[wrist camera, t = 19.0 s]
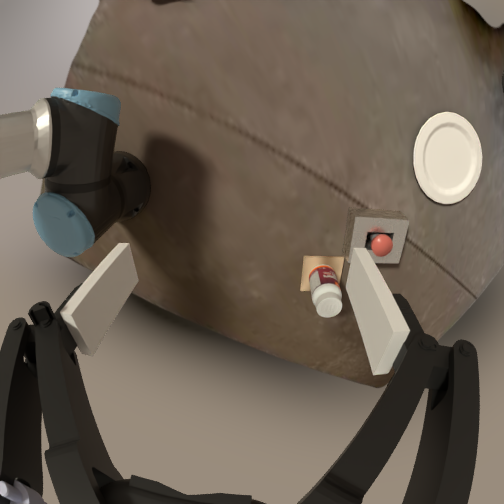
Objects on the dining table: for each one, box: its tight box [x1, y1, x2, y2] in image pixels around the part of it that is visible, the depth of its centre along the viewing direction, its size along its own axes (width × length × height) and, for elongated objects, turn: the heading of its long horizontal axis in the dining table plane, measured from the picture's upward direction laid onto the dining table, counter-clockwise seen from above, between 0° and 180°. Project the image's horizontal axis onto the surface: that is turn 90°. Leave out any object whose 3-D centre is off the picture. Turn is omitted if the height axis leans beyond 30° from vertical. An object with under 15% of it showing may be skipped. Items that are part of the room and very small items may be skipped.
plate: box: [413, 112, 482, 204], centre depth 45 cm, size 21×21×2 cm
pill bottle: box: [309, 264, 342, 317], centre depth 56 cm, size 6×6×11 cm
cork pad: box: [300, 256, 344, 291], centre depth 61 cm, size 9×9×1 cm
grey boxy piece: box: [343, 207, 409, 263], centre depth 53 cm, size 12×10×5 cm
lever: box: [368, 232, 393, 257], centre depth 52 cm, size 4×4×6 cm
